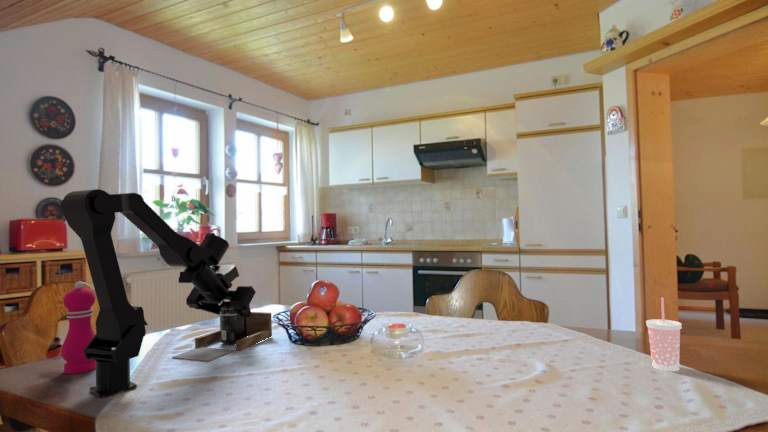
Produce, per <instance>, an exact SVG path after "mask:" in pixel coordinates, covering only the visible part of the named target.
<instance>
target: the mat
mask: <svg viewBox="0 0 768 432" xmlns="http://www.w3.org/2000/svg"><path fill="white" fill-rule="evenodd" d="M234 351H235V349H228V348H217V347H207V346H206V347H205V346H203V347H198V348H194V349H190V350H188V351H185V352H182V353H180V354H177V355H174V356H172V357H171V358H172V359H175V360H176V359H177V360H185V361H186V360H187V361H197V362H206V363H208V362H211V361H214V360H216V359H218V358H220V357H223V356H225V355H228V354H230V353H233V352H234Z"/></svg>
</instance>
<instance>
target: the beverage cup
mask: <svg viewBox="0 0 768 432" xmlns="http://www.w3.org/2000/svg"><path fill="white" fill-rule="evenodd" d="M660 304H661V305H660V306H661V308H660V309H661V318H660V319H659V318H657V319H656V318H655V319H654V318H653V319H648V320H647V319H646V320H645V324H646V327H647V330H648V331H647V332H648V342H649V347H650V355H651V356H650V358H651V364H652V365H651V367H652V368H655V369H656V370H658V371H659V370H660V371H665V372H677V371H680V351H681V349H680V347H681V330H682V323H681V322H679V321H677V320H670V319H665V317H666V316H665V299H664V297H663V296H662V297H660Z"/></svg>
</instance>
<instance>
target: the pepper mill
mask: <svg viewBox="0 0 768 432" xmlns="http://www.w3.org/2000/svg"><path fill="white" fill-rule="evenodd" d="M84 287H85V284H84V282H83V281H76V282H75V284H74V288H75V289H71V290H70V291H68V292H66V294H65V295H64V297H63V302H62V303H63V307H64V308H66V309H67V310H66V312H65V313H66V317H65V318H67V319H68V330H67V334H66V336H65V338H64V341H63V343H62V346H61V351H60V356H61V358H62V359H63V360H64V361H65V362H66V363H64V364H63V373H64V374H67V375H76V374H82V373H87V372H91V371H92V370H96V360H93V359H90V360H88V359H86V356H85V354H84V349H85V348H86V346H87V345H88V344H89V343H90V341H91V340H92V339H93V337H94V336H95V335H96V333H95V332H94V331H93V327H92V322H91V321H92V316H93V314H94V313H93V311H94V309H93V308H92V307H93V305H94V304H95V302H96V294H95V293H94V292H93V290H91V289H89V288H84Z"/></svg>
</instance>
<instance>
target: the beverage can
mask: <svg viewBox="0 0 768 432" xmlns="http://www.w3.org/2000/svg"><path fill="white" fill-rule="evenodd" d="M219 306H220V307H219V311H220V315H219V330H220V340H219V341H220V342H221V344H224V345H225V346H236V345H235V344H236V341H237V340H240V339H242V338H245V337H247V324H246V316H245V315H243V314H240V313H238V312H236V311H234V309H233V308H232V307H231V306H230V300H222V302H221V303H220V304H219Z"/></svg>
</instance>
